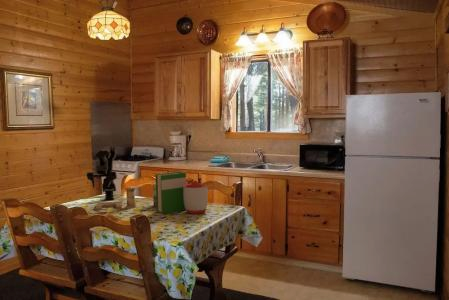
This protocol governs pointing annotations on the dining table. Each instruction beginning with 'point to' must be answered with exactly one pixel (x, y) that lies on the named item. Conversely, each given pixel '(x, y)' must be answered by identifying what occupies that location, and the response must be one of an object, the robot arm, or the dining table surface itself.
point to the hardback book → (170, 192)
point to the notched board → (109, 205)
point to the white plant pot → (195, 197)
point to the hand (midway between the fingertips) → (100, 186)
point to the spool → (130, 197)
